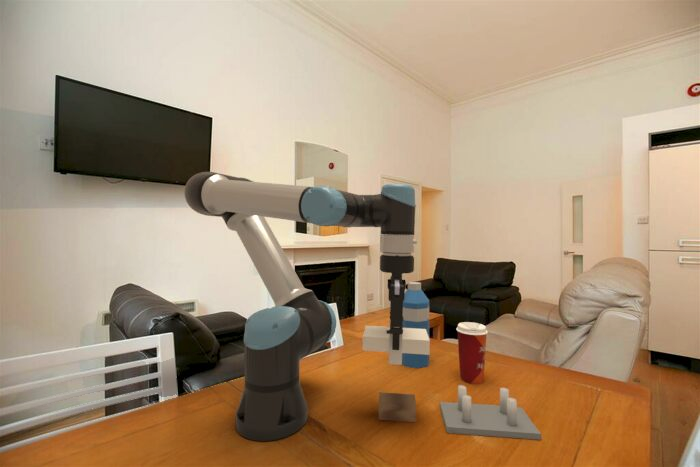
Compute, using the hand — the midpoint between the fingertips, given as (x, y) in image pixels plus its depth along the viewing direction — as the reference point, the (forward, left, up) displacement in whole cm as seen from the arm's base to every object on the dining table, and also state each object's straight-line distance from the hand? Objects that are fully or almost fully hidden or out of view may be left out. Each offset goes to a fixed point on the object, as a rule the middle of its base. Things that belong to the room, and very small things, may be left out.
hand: (395, 355), depth 73 cm
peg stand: (+19, 0, -13) cm, 24 cm away
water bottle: (+6, +31, -14) cm, 34 cm away
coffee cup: (+21, +21, -14) cm, 33 cm away
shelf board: (0, 0, +2) cm, 2 cm away
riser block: (0, 0, -13) cm, 13 cm away
